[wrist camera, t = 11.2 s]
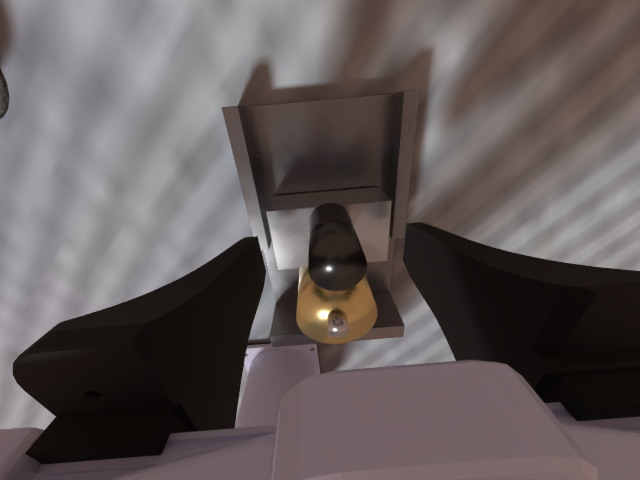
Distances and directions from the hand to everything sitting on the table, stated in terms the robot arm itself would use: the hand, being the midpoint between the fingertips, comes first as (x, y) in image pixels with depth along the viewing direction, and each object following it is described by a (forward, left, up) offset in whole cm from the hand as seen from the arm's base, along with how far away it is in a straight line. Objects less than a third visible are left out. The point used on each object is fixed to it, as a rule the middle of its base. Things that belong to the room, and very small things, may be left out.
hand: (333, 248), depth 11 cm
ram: (-1, 0, -5) cm, 5 cm away
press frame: (-3, 0, -7) cm, 7 cm away
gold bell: (-5, 0, -6) cm, 8 cm away
